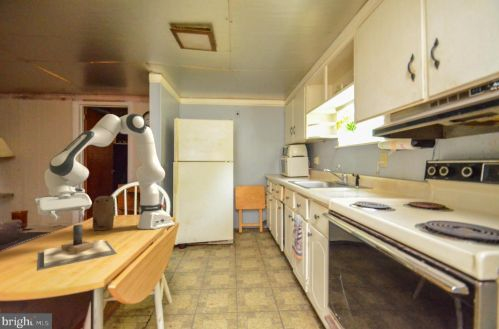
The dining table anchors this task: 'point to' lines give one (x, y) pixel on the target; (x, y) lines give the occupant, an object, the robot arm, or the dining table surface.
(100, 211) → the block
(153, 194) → the robot arm
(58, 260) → the board
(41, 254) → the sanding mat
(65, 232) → the dining table surface
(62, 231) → the dining table surface
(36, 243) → the dining table surface
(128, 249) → the dining table surface
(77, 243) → the sanding block
